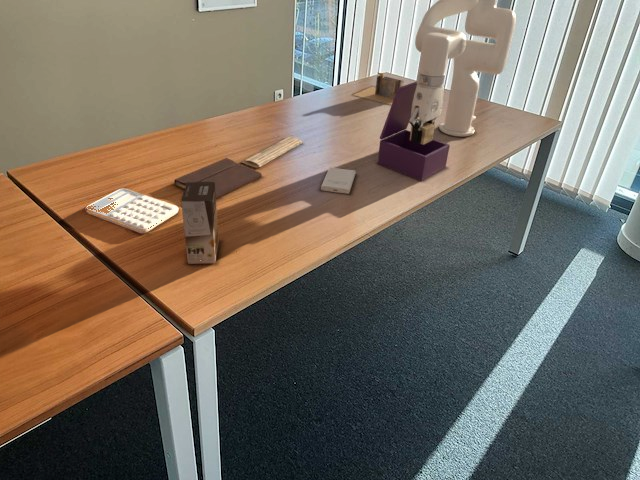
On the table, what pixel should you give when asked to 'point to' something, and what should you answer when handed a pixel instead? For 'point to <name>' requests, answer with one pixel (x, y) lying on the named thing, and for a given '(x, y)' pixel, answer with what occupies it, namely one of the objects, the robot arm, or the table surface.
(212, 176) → the notebook
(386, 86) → the architectural model on board
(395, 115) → the lid
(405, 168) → the purple lidded box
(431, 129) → the block
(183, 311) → the table surface
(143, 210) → the calculator
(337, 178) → the hard drive
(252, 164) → the newspaper
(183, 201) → the coffee box
